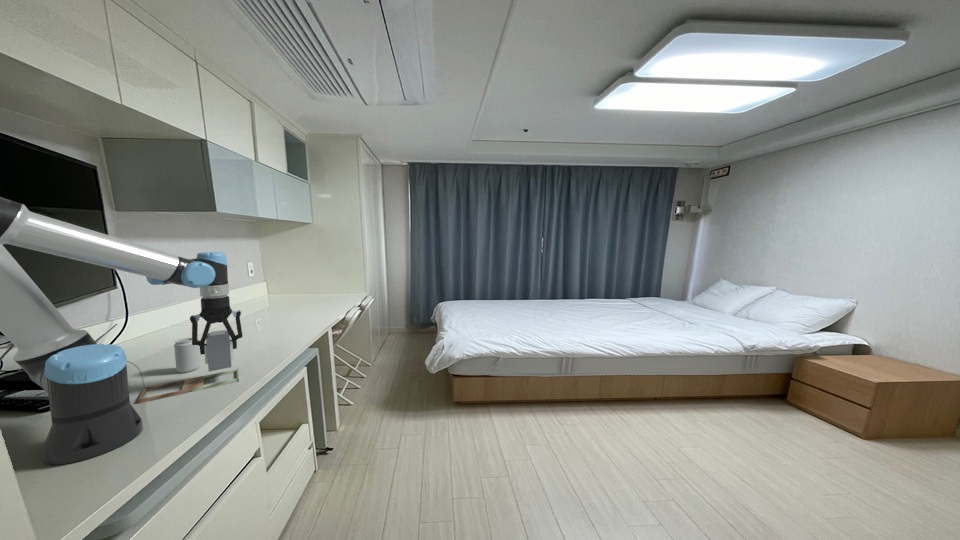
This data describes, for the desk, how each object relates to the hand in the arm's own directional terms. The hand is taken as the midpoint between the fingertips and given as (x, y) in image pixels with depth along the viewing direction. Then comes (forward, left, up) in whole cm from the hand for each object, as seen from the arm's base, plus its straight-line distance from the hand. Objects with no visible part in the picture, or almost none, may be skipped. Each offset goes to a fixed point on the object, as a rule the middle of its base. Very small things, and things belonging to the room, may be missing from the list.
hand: (219, 360), depth 106 cm
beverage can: (+5, +20, -7) cm, 22 cm away
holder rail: (-5, +5, -7) cm, 10 cm away
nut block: (0, 0, -2) cm, 2 cm away
